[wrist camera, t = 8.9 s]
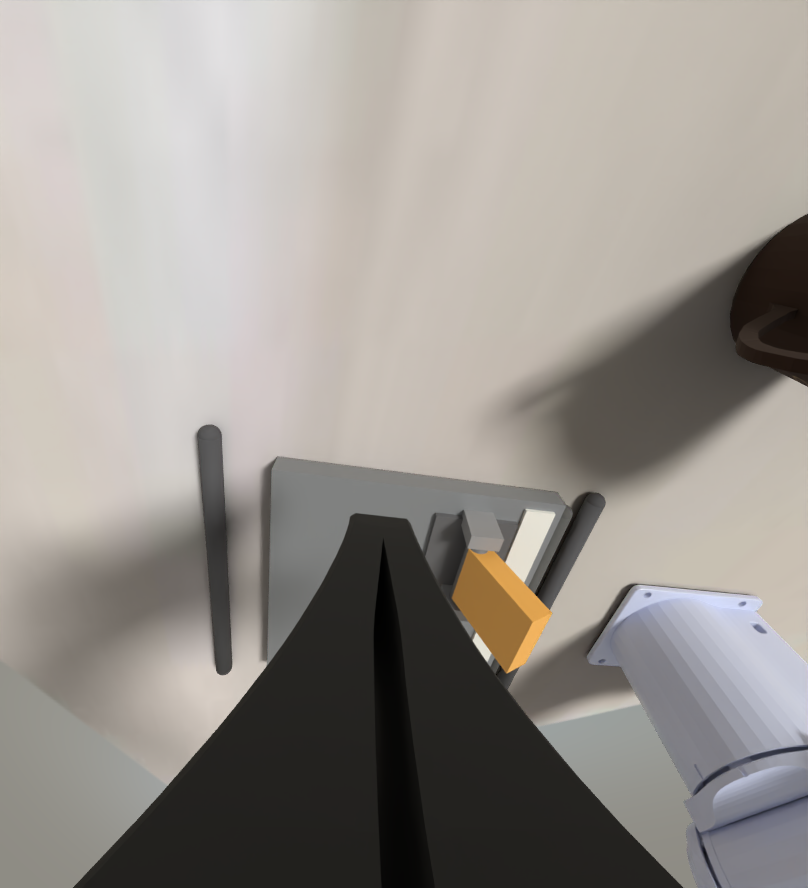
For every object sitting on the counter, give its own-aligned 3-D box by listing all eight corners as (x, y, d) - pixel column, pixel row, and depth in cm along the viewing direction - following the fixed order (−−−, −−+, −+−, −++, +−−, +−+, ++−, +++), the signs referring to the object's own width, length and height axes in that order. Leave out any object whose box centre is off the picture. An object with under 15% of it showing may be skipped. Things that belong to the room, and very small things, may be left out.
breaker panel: (557, 492, 21) (584, 531, 18) (478, 666, 29) (489, 713, 26) (277, 456, 19) (259, 494, 16) (271, 653, 27) (258, 703, 24)
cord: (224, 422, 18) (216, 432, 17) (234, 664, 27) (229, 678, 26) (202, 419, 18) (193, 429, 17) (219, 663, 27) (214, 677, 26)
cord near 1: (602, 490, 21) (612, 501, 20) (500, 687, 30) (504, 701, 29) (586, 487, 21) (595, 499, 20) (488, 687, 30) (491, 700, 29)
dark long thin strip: (570, 501, 21) (578, 513, 21) (486, 679, 29) (489, 692, 28) (554, 499, 21) (561, 510, 20) (473, 678, 29) (476, 692, 28)
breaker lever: (481, 533, 20) (553, 610, 16) (462, 586, 22) (523, 666, 18) (463, 538, 19) (534, 619, 16) (445, 592, 21) (504, 676, 18)
